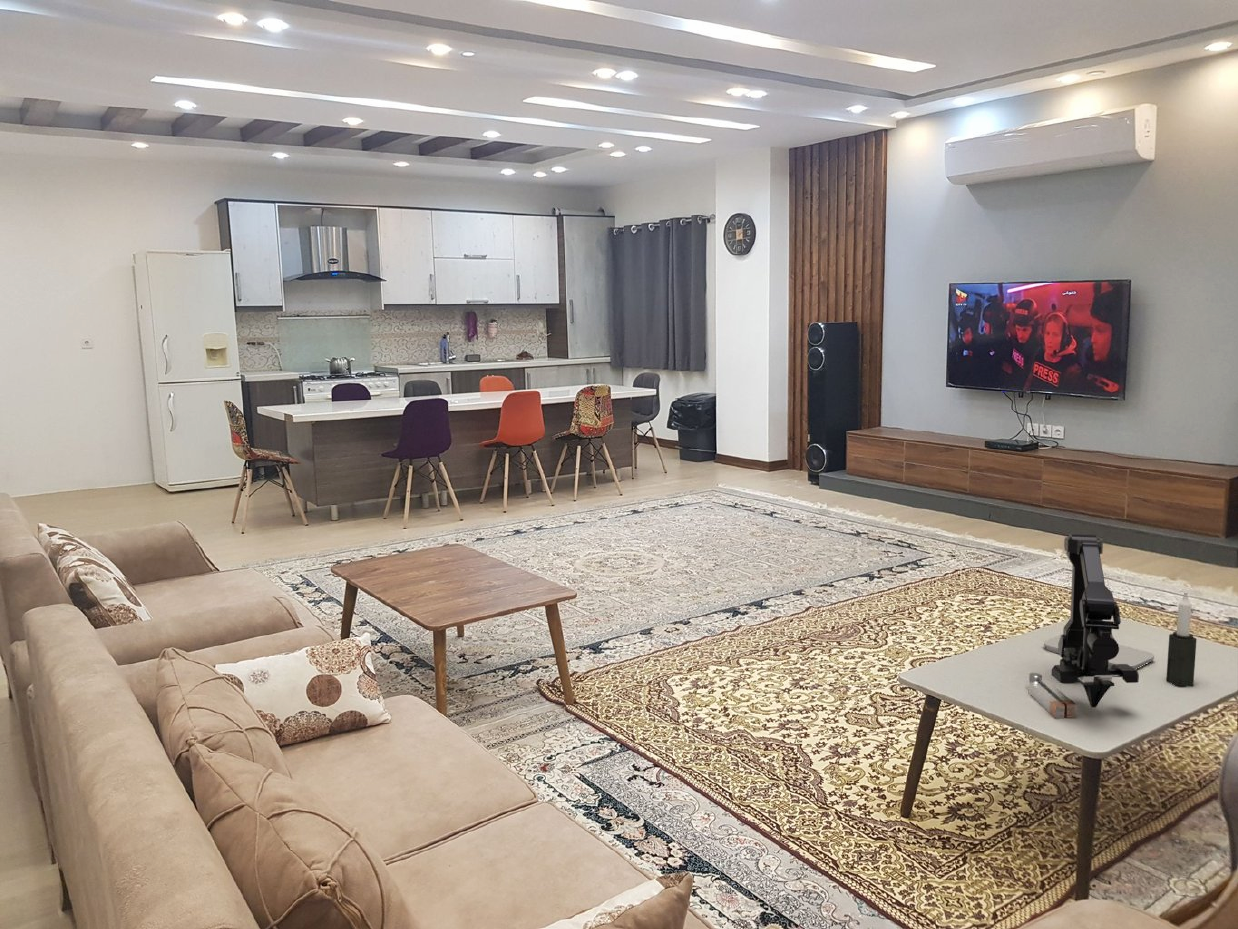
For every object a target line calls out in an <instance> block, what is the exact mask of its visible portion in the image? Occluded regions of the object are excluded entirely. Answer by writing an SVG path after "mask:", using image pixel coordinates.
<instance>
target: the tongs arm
mask: <svg viewBox="0 0 1238 929" xmlns="http://www.w3.org/2000/svg"><path fill="white" fill-rule="evenodd" d="M1041 686H1042V687H1043V688H1044V689H1045V690H1047V691H1048V692H1049V693H1050V694H1051V695H1052V696H1053V697H1054V698H1055V699H1056V700H1058V701H1060V702H1061V703H1062V704H1063V705H1064V706H1065V709H1064V717H1066V718H1077V707H1078V705H1077V704H1076V703H1075V701H1073V700H1072V699H1070V698H1069V697H1068V696H1066V695H1065V693H1063V691H1061V690H1060V689H1059V688H1058V687H1057V686H1056V685H1054V683H1052V682H1051V681H1050V680H1045V679H1044V680H1042V681H1041Z"/></svg>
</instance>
